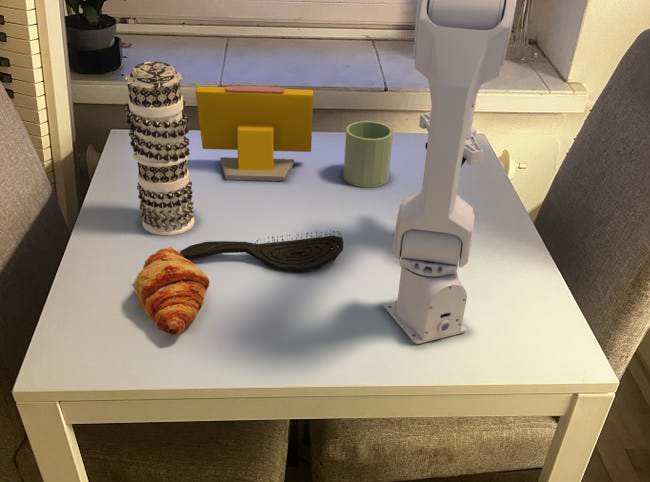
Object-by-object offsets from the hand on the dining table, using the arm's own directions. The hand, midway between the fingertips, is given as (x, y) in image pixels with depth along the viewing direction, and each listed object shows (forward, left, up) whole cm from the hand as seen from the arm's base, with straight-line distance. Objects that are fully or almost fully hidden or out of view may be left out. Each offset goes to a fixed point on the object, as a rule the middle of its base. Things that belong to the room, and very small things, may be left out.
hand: (442, 189), depth 117 cm
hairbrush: (+5, +27, -10) cm, 30 cm away
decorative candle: (+21, +38, -10) cm, 44 cm away
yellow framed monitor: (+34, +18, -10) cm, 40 cm away
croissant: (-1, +43, -10) cm, 44 cm away
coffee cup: (+25, 0, -9) cm, 27 cm away
